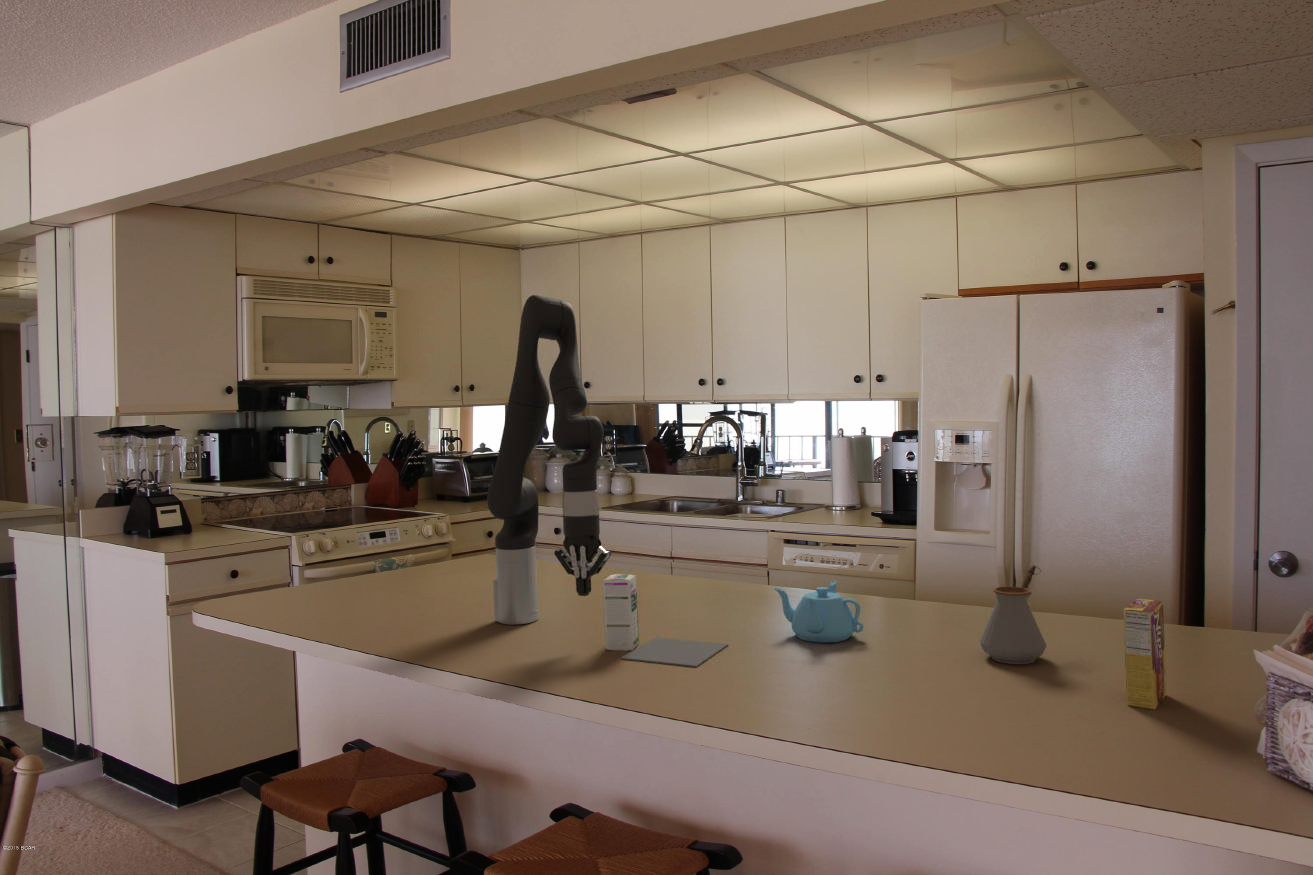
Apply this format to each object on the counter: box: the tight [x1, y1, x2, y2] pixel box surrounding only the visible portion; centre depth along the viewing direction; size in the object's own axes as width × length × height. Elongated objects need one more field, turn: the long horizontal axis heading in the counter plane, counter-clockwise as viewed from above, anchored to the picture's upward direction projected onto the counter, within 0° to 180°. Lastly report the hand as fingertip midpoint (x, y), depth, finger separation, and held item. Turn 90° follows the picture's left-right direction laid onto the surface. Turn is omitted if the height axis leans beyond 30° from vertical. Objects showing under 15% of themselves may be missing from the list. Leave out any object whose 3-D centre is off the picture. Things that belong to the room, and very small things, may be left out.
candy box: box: [1122, 598, 1168, 710], centre depth 142 cm, size 9×4×15 cm, turn 140°
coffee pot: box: [979, 564, 1047, 665], centre depth 171 cm, size 21×12×15 cm, turn 142°
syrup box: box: [602, 573, 640, 652], centre depth 184 cm, size 6×6×14 cm
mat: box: [620, 636, 729, 668], centre depth 179 cm, size 16×16×1 cm
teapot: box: [773, 579, 865, 644], centre depth 186 cm, size 15×15×10 cm
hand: (584, 595), depth 187 cm, fingers closed
